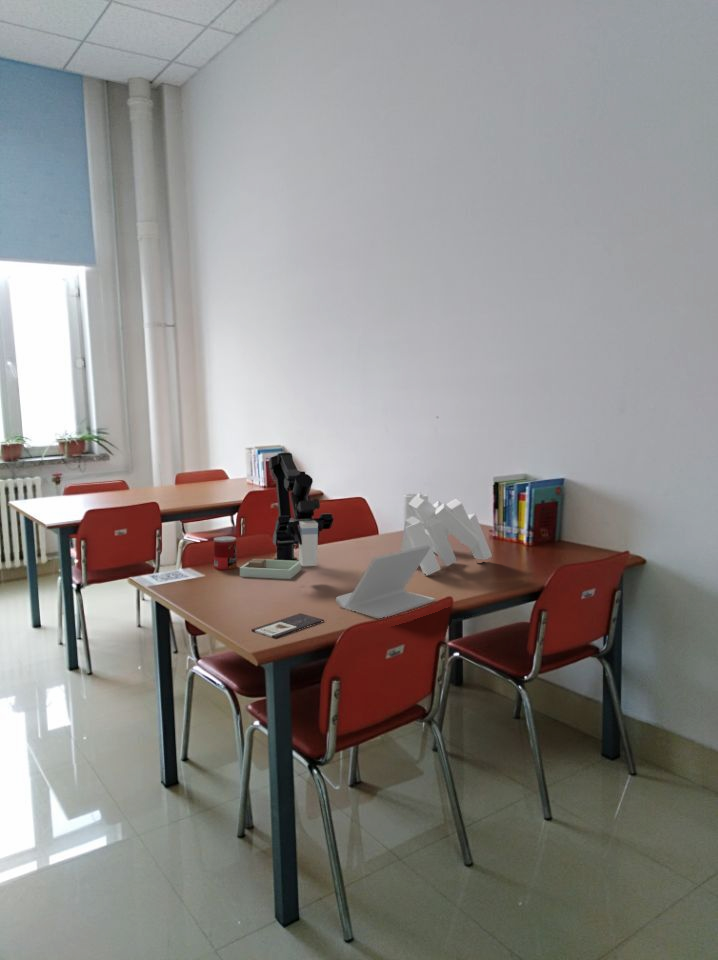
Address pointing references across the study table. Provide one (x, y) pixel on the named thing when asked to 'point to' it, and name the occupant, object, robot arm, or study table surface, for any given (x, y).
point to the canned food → (225, 553)
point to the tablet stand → (387, 585)
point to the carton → (308, 543)
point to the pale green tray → (272, 569)
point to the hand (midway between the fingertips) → (309, 543)
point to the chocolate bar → (286, 625)
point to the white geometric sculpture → (442, 532)
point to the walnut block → (257, 563)
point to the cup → (407, 509)
